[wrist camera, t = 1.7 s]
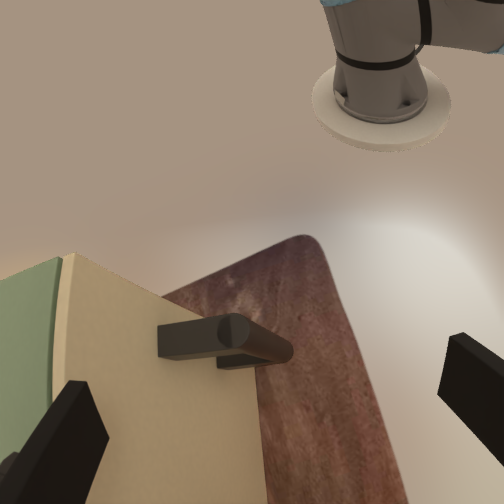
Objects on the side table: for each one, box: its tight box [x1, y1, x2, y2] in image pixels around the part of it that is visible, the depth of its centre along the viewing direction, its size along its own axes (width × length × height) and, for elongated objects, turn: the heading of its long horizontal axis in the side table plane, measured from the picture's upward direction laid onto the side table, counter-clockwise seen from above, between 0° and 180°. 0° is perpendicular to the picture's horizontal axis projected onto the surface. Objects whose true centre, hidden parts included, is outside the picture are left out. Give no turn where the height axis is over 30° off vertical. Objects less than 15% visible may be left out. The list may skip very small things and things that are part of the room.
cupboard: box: [0, 257, 63, 464], centre depth 21 cm, size 18×26×24 cm
